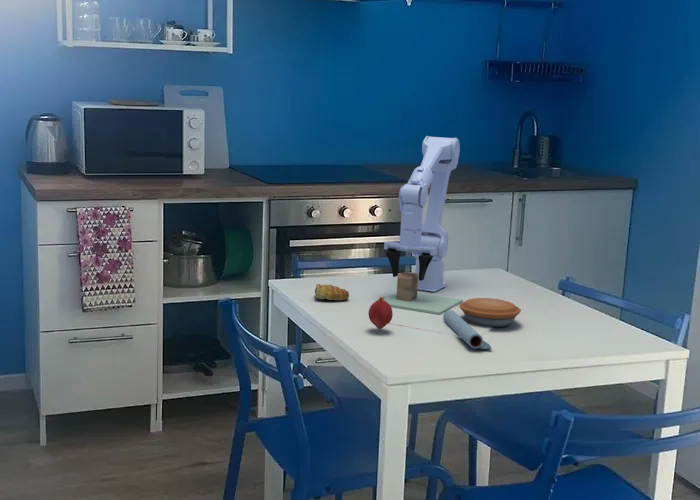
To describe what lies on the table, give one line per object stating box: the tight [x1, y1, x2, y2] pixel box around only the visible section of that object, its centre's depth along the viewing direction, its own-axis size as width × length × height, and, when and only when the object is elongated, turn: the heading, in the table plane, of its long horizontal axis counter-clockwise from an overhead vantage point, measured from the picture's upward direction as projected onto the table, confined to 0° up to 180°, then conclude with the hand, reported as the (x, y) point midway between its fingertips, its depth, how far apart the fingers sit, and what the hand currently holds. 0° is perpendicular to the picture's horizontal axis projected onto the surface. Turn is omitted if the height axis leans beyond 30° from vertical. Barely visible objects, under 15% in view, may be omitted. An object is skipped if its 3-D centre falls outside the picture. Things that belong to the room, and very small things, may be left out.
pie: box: [458, 297, 522, 327], centre depth 225 cm, size 15×16×5 cm
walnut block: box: [396, 271, 419, 302], centre depth 242 cm, size 5×4×7 cm
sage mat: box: [384, 292, 464, 315], centre depth 241 cm, size 18×18×1 cm
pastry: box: [314, 283, 350, 302], centre depth 239 cm, size 9×7×4 cm
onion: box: [367, 296, 394, 330], centre depth 212 cm, size 6×6×8 cm
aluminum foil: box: [442, 309, 493, 350], centre depth 212 cm, size 23×7×3 cm, turn 9°
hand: (408, 278), depth 241 cm, fingers open, 7 cm apart
